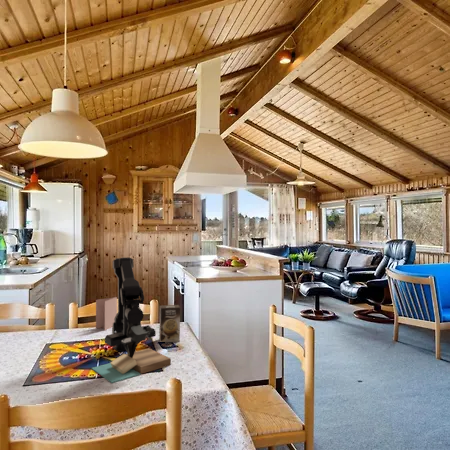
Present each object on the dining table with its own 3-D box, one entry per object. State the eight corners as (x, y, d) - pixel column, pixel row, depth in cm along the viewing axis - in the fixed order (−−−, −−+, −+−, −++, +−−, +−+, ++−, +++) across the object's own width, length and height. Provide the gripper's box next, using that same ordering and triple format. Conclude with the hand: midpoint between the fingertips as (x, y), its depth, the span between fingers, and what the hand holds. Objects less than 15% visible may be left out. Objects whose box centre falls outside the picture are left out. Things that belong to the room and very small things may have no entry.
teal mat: (91, 368, 141) (91, 367, 141) (118, 361, 149) (118, 360, 149) (112, 383, 129) (112, 382, 129) (140, 374, 136) (140, 373, 136)
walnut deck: (120, 361, 149) (120, 355, 149) (149, 354, 157) (149, 348, 157) (141, 373, 137) (141, 367, 137) (170, 365, 146) (170, 358, 145)
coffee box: (160, 343, 172) (160, 308, 172) (159, 339, 178) (159, 305, 178) (180, 341, 174) (180, 307, 174) (178, 337, 180) (178, 304, 180)
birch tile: (112, 367, 142) (110, 362, 142) (125, 357, 146) (123, 353, 145) (123, 374, 135) (121, 369, 135) (137, 364, 139) (135, 359, 139)
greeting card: (116, 324, 203) (116, 296, 203) (121, 327, 198) (122, 299, 198) (95, 328, 196) (95, 299, 196) (100, 331, 190) (100, 301, 190)
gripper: (118, 326, 130) (118, 370, 131) (163, 317, 143) (163, 358, 143) (104, 320, 139) (104, 362, 139) (148, 312, 151) (148, 350, 151)
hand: (130, 358), depth 143 cm, fingers closed
